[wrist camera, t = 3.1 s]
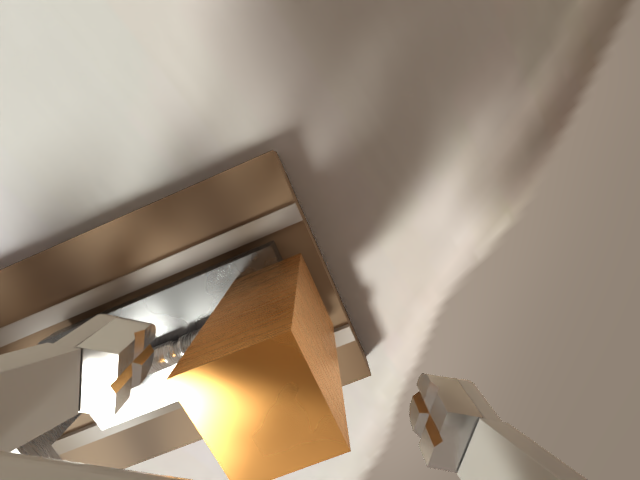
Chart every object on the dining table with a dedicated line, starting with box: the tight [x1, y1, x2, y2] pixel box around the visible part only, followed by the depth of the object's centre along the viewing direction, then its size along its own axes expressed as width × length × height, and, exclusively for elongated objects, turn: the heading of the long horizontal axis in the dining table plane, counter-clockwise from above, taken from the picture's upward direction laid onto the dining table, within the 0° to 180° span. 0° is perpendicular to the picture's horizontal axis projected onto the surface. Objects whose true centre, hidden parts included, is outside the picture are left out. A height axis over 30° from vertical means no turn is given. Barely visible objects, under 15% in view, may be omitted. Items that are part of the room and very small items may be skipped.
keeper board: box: [0, 150, 371, 469], centre depth 15 cm, size 24×12×2 cm, turn 113°
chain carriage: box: [11, 240, 351, 480], centre depth 10 cm, size 12×5×9 cm, turn 113°
